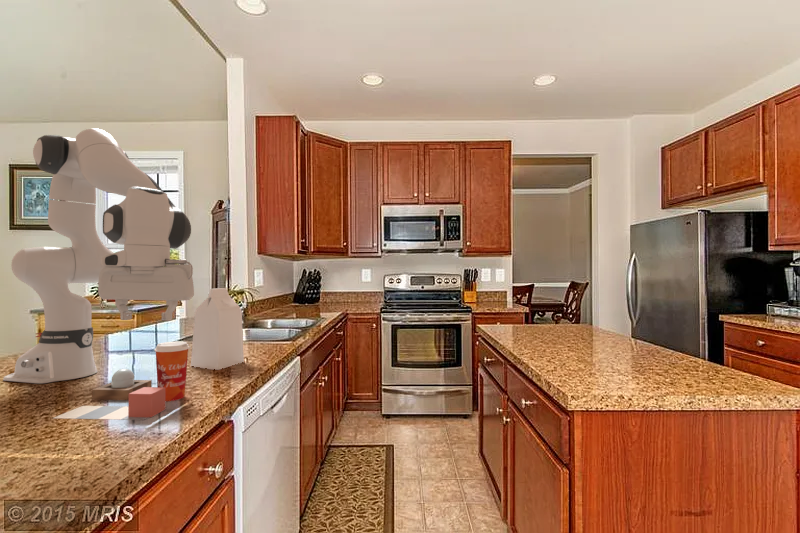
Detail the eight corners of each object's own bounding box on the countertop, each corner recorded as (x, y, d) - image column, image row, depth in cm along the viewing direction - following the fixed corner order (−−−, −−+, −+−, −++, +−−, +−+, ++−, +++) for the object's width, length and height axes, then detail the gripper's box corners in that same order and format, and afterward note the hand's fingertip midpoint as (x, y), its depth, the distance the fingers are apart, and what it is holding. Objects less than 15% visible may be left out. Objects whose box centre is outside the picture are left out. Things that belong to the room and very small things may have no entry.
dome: (106, 396, 102) (106, 371, 102) (120, 391, 106) (120, 366, 106) (125, 397, 101) (125, 371, 101) (138, 391, 106) (138, 366, 106)
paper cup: (152, 406, 96) (153, 347, 96) (154, 397, 103) (155, 342, 103) (189, 402, 100) (190, 344, 100) (189, 393, 107) (190, 340, 107)
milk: (217, 359, 147) (218, 287, 147) (243, 362, 143) (244, 288, 144) (190, 366, 136) (191, 288, 136) (217, 369, 132) (218, 289, 132)
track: (52, 420, 87) (52, 418, 87) (82, 408, 95) (82, 405, 95) (143, 422, 86) (143, 419, 86) (166, 409, 94) (166, 407, 94)
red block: (128, 416, 88) (128, 393, 88) (143, 409, 93) (143, 387, 93) (151, 417, 88) (151, 394, 88) (165, 409, 93) (165, 387, 93)
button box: (91, 401, 100) (91, 389, 100) (118, 391, 109) (118, 379, 109) (127, 402, 99) (127, 390, 99) (151, 391, 108) (151, 380, 108)
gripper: (199, 259, 95) (199, 319, 95) (114, 258, 96) (113, 317, 96) (184, 259, 88) (183, 322, 88) (93, 258, 89) (92, 321, 89)
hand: (146, 320), depth 92 cm, fingers open, 8 cm apart
